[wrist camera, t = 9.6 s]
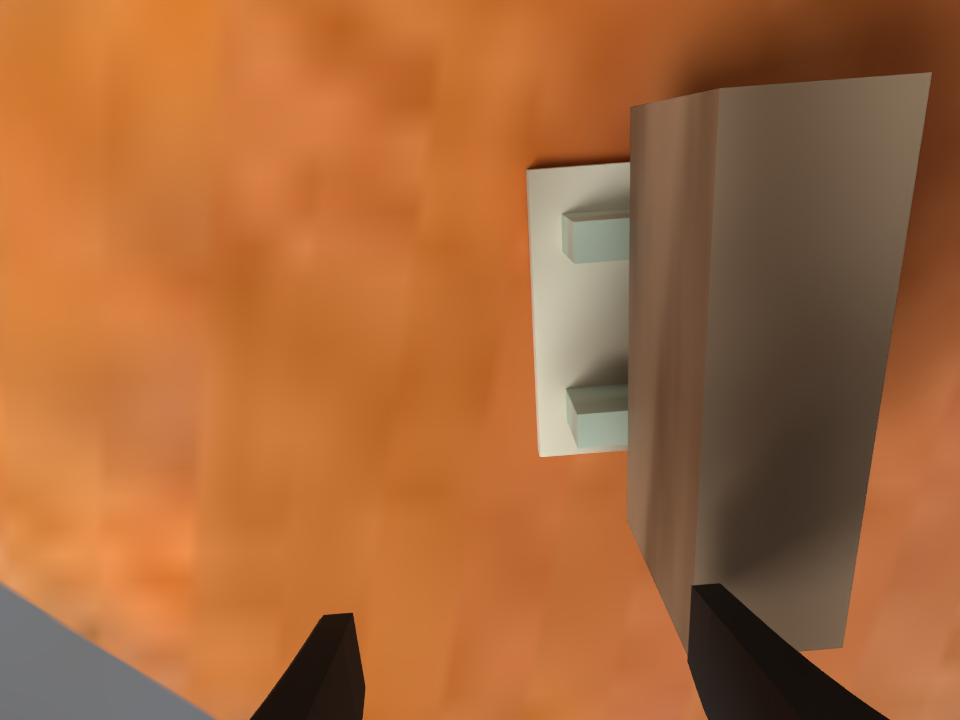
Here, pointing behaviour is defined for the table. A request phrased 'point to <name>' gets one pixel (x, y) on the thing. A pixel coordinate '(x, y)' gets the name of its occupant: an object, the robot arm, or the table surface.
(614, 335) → the rail stand
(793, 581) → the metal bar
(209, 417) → the table surface
